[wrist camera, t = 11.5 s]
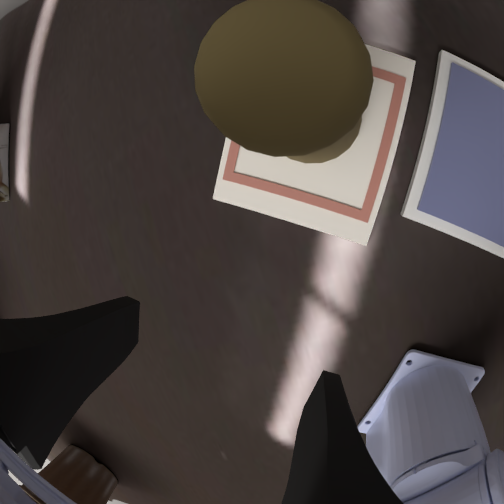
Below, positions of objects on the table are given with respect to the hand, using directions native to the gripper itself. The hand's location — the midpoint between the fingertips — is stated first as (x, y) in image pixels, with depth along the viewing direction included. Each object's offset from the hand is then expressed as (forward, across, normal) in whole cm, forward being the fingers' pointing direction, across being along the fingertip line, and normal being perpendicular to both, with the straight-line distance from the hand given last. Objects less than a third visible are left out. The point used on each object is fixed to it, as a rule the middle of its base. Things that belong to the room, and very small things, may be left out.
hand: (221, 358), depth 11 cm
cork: (+10, 0, -10) cm, 14 cm away
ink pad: (+10, -11, -11) cm, 19 cm away
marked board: (+10, 0, -9) cm, 14 cm away
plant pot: (+11, +22, +53) cm, 58 cm away
